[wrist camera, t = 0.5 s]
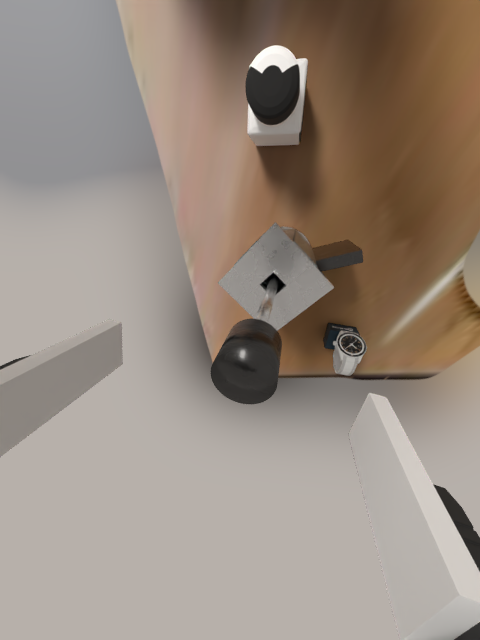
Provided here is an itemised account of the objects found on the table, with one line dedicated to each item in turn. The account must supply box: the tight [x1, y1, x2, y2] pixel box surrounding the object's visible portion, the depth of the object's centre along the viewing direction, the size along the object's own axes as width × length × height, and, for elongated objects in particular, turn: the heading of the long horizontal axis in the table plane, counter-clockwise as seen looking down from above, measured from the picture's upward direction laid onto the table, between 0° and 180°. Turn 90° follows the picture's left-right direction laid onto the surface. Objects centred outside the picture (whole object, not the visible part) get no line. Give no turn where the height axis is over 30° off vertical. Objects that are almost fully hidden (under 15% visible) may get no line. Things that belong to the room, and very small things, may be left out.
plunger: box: [211, 272, 285, 404], centre depth 24 cm, size 9×9×23 cm
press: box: [218, 222, 363, 331], centre depth 36 cm, size 16×12×17 cm
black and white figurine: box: [246, 46, 308, 146], centre depth 30 cm, size 7×7×12 cm
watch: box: [323, 323, 367, 376], centre depth 44 cm, size 6×8×11 cm
